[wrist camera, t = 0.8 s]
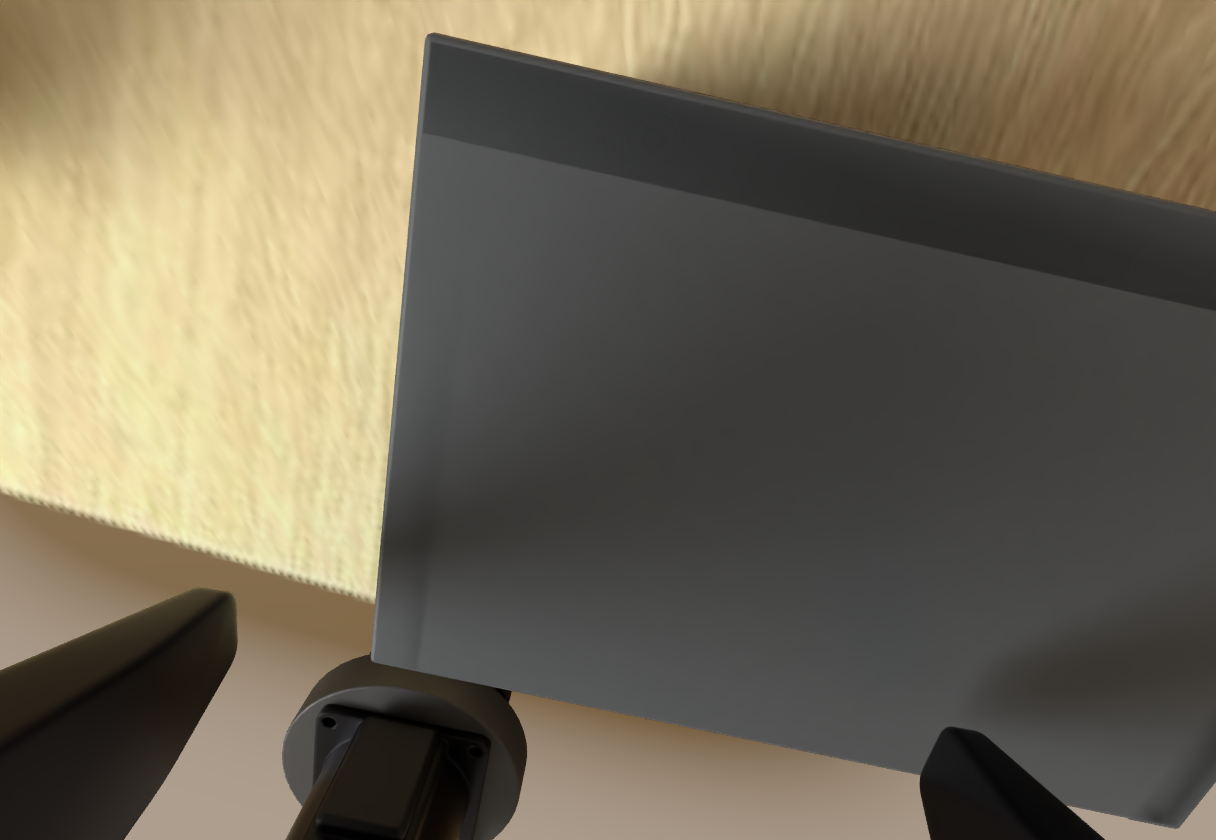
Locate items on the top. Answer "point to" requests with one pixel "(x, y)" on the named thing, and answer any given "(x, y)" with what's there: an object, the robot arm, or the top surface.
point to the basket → (802, 434)
